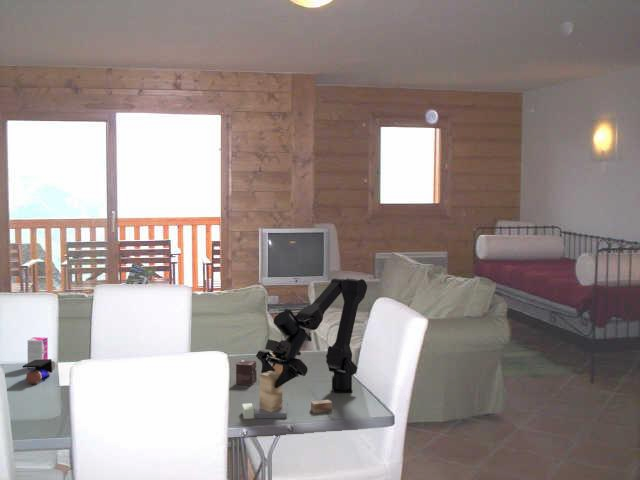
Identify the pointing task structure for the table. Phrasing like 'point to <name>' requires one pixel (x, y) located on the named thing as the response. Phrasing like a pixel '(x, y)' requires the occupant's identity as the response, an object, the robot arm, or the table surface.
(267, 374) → the oak block
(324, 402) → the walnut brick
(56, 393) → the table surface
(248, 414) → the sage brick
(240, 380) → the box
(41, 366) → the figurine character
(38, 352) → the supplement box
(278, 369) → the egg
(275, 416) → the slate tile
